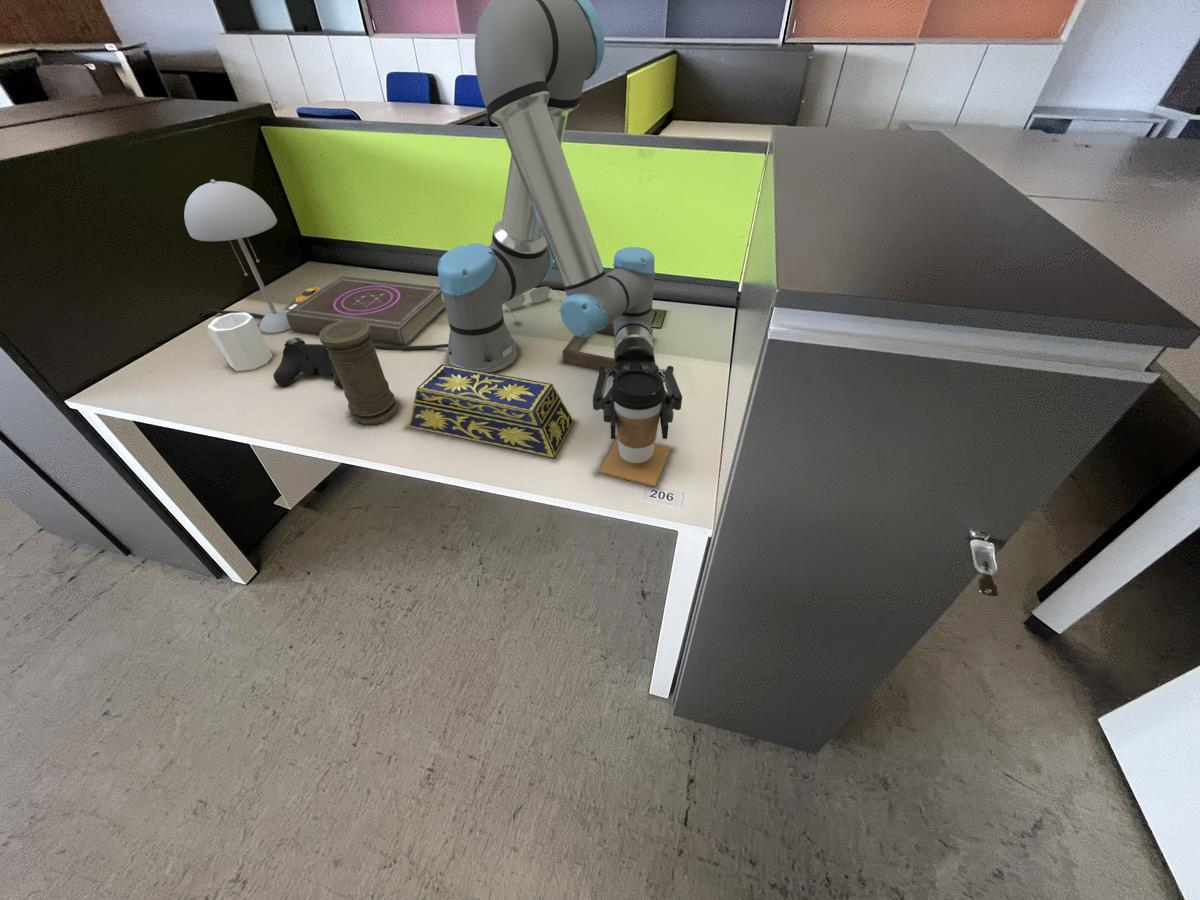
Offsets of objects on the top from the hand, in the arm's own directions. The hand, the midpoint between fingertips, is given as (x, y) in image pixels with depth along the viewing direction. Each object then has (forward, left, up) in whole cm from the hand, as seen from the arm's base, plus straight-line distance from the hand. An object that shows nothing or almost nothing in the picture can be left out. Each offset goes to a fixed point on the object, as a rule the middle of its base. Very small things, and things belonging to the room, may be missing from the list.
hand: (639, 432), depth 81 cm
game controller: (-73, +6, -11) cm, 75 cm away
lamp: (-101, +22, -11) cm, 103 cm away
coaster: (-2, +5, -11) cm, 12 cm away
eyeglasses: (-43, +49, -11) cm, 67 cm away
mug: (-95, +6, -11) cm, 96 cm away
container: (-55, +1, -11) cm, 56 cm away
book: (-80, +32, -11) cm, 87 cm away
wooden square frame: (-19, +38, -11) cm, 43 cm away
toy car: (-103, +34, -11) cm, 109 cm away
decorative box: (-31, +5, -11) cm, 33 cm away
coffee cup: (-2, +5, -9) cm, 10 cm away
